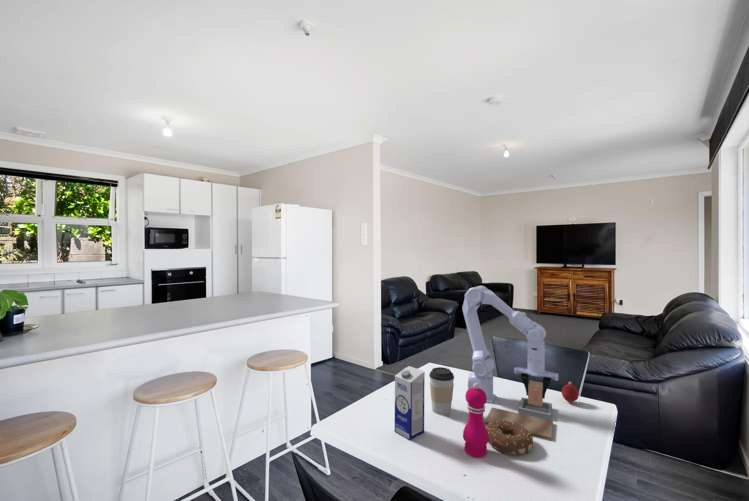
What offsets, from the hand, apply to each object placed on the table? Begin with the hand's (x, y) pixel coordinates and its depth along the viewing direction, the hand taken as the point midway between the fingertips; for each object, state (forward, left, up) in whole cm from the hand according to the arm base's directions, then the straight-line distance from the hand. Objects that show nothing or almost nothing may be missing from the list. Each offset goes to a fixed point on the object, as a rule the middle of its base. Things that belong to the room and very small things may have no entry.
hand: (535, 396), depth 127 cm
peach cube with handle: (0, 0, -2) cm, 2 cm away
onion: (+11, +14, -6) cm, 19 cm away
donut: (-5, -28, -6) cm, 29 cm away
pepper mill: (-13, -37, -6) cm, 40 cm away
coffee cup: (-30, -17, -6) cm, 35 cm away
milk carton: (-34, -37, -6) cm, 51 cm away
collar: (0, 0, -5) cm, 5 cm away
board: (-4, -14, -5) cm, 15 cm away
